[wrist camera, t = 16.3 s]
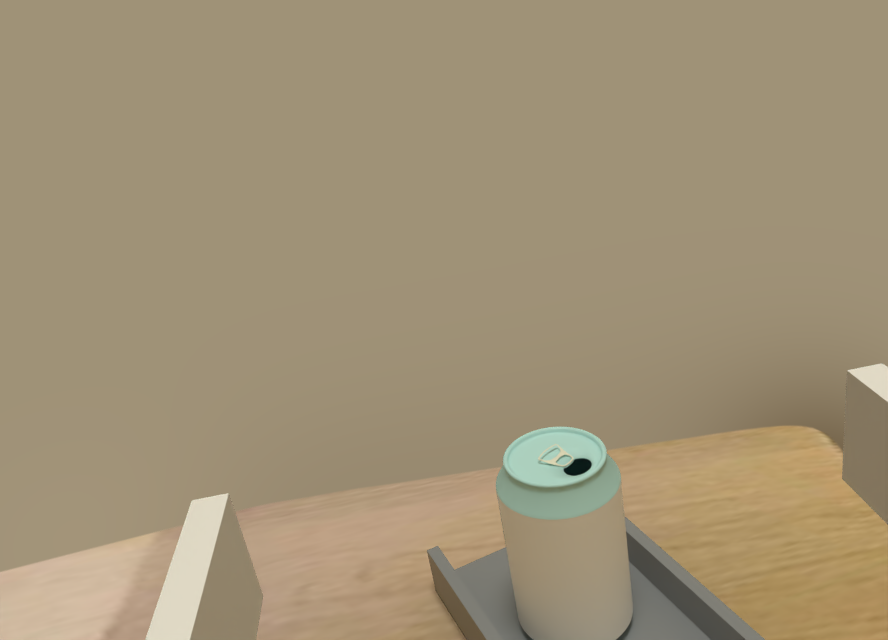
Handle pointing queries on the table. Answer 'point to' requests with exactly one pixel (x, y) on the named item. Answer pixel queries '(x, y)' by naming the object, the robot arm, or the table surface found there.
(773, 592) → the table surface
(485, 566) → the duct channel
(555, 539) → the can
